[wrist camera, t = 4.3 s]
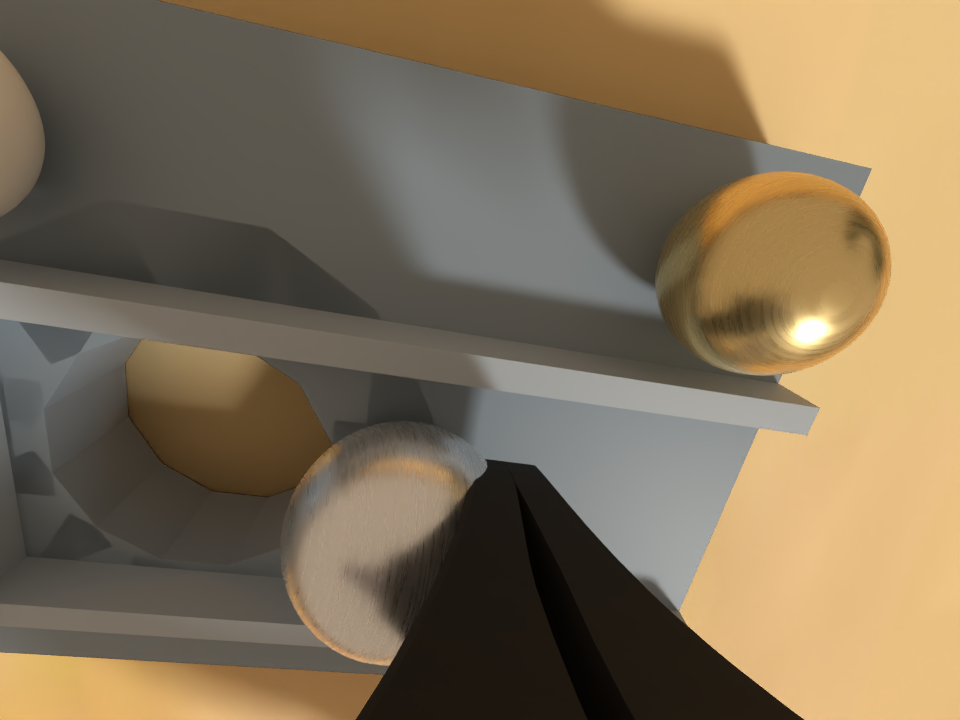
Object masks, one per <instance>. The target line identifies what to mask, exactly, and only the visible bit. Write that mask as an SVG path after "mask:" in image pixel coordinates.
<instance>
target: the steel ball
mask: <svg viewBox="0 0 960 720" xmlns="http://www.w3.org/2000/svg"><path fill="white" fill-rule="evenodd" d="M486 469H487V461H486V460H485V458H484V457H483V456H482V455H481V454H480V453H479V452H478V451H477V450H476V449H475V448H474V447H473V446H471V445H470V444H469V443H467V442H466V441H465V440H464V439H462V438H460V437H459V436H457V435H455V434H453V433H451V432H449V431H447V430H445V429H442V428H440V427H437V426H434V425H430V424H426V423H421V422H410V421H395V422H386V423H381V424H376V425H373V426H370V427H367V428H364V429H361V430H358V431H356V432H354V433H352V434H350V435H348V436H346V437H344V438H343V439H341V440H340V441H338V442H337V443H335V444H334V445H332V446H331V447H330V448H329V449H328V450H327V451H325V452H324V453H323V454H322V455H321V456H320V457H319V458H318V459H317V460H316V461H315V462H314V463H313V465H312V466H311V467H310V468H309V469H308V471H307V472H306V473H305V475H304V476H303V478H302V479H301V481H300V482H299V484H298V486H297V488H296V490H295V492H294V494H293V495H292V498H291V500H290V503H289V506H288V508H287V511H286V514H285V518H284V522H283V527H282V533H281V542H280V560H281V567H282V574H283V580H284V583H285V586H286V589H287V593H288V596H289V598H290V600H291V602H292V604H293V606H294V608H295V610H296V612H297V614H298V615H299V617H300V618H301V620H302V621H303V623H304V624H305V625H306V626H307V628H308V629H309V630H310V631H311V632H312V633H313V634H314V635H315V636H316V637H317V638H318V639H319V640H320V641H322V642H323V643H324V644H326V645H327V646H328V647H330V648H331V649H332V650H334V651H336V652H338V653H340V654H342V655H344V656H345V657H348V658H351V659H354V660H357V661H360V662H364V663H370V664H376V665H382V666H390V664H391V662H392V661H393V659H394V657H395V656H396V654H397V652H398V650H399V648H400V646H401V645H402V643H403V641H404V639H405V637H406V636H407V634H408V632H409V630H410V628H411V627H412V625H413V623H414V621H415V619H416V617H417V615H418V614H419V612H420V610H421V608H422V606H423V604H424V602H425V600H426V598H427V596H428V594H429V591H430V589H431V587H432V585H433V583H434V581H435V579H436V576H437V574H438V572H439V570H440V568H441V565H442V563H443V560H444V558H445V555H446V553H447V550H448V548H449V545H450V543H451V540H452V538H453V535H454V532H455V529H456V527H457V523H458V520H459V516H460V513H461V510H462V506H463V503H464V499H465V494H466V493H467V491H468V490H469V489H470V487H471V486H472V484H473V482H474V481H475V479H477V478H479V477H480V476H481V475H482V474H483V473H484V472H485V471H486Z"/></svg>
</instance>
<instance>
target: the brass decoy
mask: <svg viewBox="0 0 960 720" xmlns="http://www.w3.org/2000/svg"><path fill="white" fill-rule="evenodd" d="M890 276H891V254H890V246H889V242H888V238H887V236H886V233H885V231H884V228H883V226H882V224H881V223H880V221H879V219H878V218H877V216H876V214H875V213H874V211H873V210H872V209H871V208H870V207H869V206H868V205H867V204H866V203H865V202H864V201H863V200H862V199H861V198H860V197H859V196H857V195H856V194H855V193H854V192H852V191H851V190H849V189H847V188H846V187H844V186H842V185H840V184H838V183H836V182H834V181H832V180H829V179H826V178H823V177H820V176H816V175H813V174H808V173H801V172H790V171H775V172H768V173H762V174H755V175H751V176H747V177H744V178H740V179H738V180H735V181H732V182H730V183H728V184H725V185H723V186H721V187H719V188H717V189H716V190H714V191H712V192H710V193H709V194H707V195H706V196H705V197H703V198H702V199H701V200H699V201H698V202H697V203H695V204H694V205H693V206H692V207H691V208H690V209H689V210H688V211H687V212H686V213H684V215H683V216H682V217H681V218H680V219H679V221H678V222H677V223H676V225H675V226H674V228H673V229H672V231H671V232H670V234H669V235H668V237H667V239H666V241H665V243H664V245H663V248H662V251H661V253H660V256H659V260H658V264H657V269H656V277H655V290H656V297H657V302H658V305H659V309H660V312H661V315H662V317H663V319H664V322H665V324H666V325H667V327H668V328H669V330H670V331H671V333H672V334H673V336H674V337H675V338H676V339H677V341H678V342H679V343H680V344H681V345H682V346H683V347H685V348H686V349H687V350H688V351H689V352H691V353H692V354H693V355H694V356H696V357H697V358H699V359H701V360H703V361H704V362H706V363H708V364H710V365H712V366H715V367H717V368H720V369H723V370H726V371H730V372H734V373H738V374H746V375H757V376H768V375H780V374H787V373H792V372H796V371H799V370H803V369H806V368H809V367H812V366H814V365H817V364H819V363H822V362H824V361H826V360H827V359H829V358H831V357H833V356H834V355H836V354H837V353H839V352H840V351H842V350H844V349H845V348H846V347H848V346H849V345H850V344H851V343H853V342H854V341H855V340H856V339H857V338H858V337H859V336H860V335H861V334H862V333H863V332H864V331H865V330H866V328H867V327H868V326H869V325H870V324H871V322H872V321H873V319H874V318H875V316H876V315H877V313H878V311H879V309H880V307H881V306H882V303H883V301H884V299H885V296H886V293H887V290H888V287H889V282H890Z"/></svg>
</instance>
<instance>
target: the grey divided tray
mask: <svg viewBox="0 0 960 720" xmlns="http://www.w3.org/2000/svg"><path fill="white" fill-rule="evenodd" d="M0 50H1V52H2V53H3V54H4V55H5V56H6V57H7V59H8V60H9V61H10V62H11V63H12V65H13V66H14V67H15V68H16V70H17V71H18V73H19V74H20V76H21V77H22V79H23V80H24V82H25V84H26V86H27V87H28V89H29V91H30V93H31V95H32V97H33V99H34V101H35V103H36V106H37V108H38V110H39V113H40V117H41V120H42V123H43V129H44V135H45V154H44V161H43V165H42V169H41V173H40V175H39V177H38V180H37V182H36V184H35V185H34V187H33V188H32V190H31V191H30V193H29V194H28V195H27V196H26V197H25V198H24V199H23V200H22V201H21V202H20V203H19V204H18V206H16V207H15V208H14V209H12V210H11V211H9V212H8V213H6V214H5V215H3V216H2V217H0V652H5V653H22V654H39V655H56V656H73V657H90V658H107V659H124V660H141V661H158V662H176V663H193V664H210V665H227V666H244V667H261V668H278V669H295V670H312V671H329V672H346V673H363V674H380V675H384V674H385V673H386V671H387V669H388V668H389V666H382V665H376V664H370V663H364V662H360V661H357V660H354V659H351V658H348V657H345V656H344V655H342V654H340V653H338V652H336V651H334V650H332V649H331V648H330V647H328V646H327V645H326V644H324V643H323V642H322V641H320V640H319V639H318V638H317V637H316V636H315V635H314V634H313V633H312V632H311V631H310V630H309V629H308V628H307V626H306V625H305V624H304V623H303V621H302V620H301V618H300V617H299V615H298V614H297V612H296V610H295V608H294V606H293V604H292V602H291V600H290V598H289V596H288V593H287V589H286V586H285V583H284V580H283V574H282V567H281V560H280V542H281V533H282V527H283V522H284V518H285V514H286V511H287V508H288V506H289V503H290V500H291V498H292V495H293V494H294V492H295V490H296V488H297V487H296V488H293V489H290V490H287V491H285V492H282V493H279V494H276V495H273V496H270V497H261V496H251V495H242V494H232V493H223V492H213V491H211V490H209V489H207V488H205V487H203V486H202V485H200V484H198V483H196V482H195V481H193V480H191V479H189V478H187V477H186V476H184V475H182V474H180V473H178V472H177V471H175V470H173V469H171V468H170V467H168V466H166V465H164V464H162V463H161V462H160V460H159V459H158V457H157V456H156V455H155V453H154V452H153V450H152V449H151V448H150V446H149V445H148V443H147V442H146V440H145V439H144V438H143V436H142V435H141V433H140V432H139V431H138V429H137V428H136V426H135V425H134V424H133V422H132V421H131V419H130V418H129V414H128V399H127V385H126V370H125V363H126V361H127V360H128V358H129V357H130V355H131V354H132V352H133V351H134V349H135V348H136V347H137V345H138V344H139V342H140V341H141V339H144V340H151V341H158V342H165V343H172V344H179V345H186V346H193V347H200V348H207V349H214V350H220V351H227V352H234V353H241V354H248V355H255V356H258V357H259V358H261V359H262V360H264V361H265V362H267V363H268V364H270V365H271V366H273V367H274V368H276V369H277V370H279V371H280V372H282V373H283V374H285V375H286V376H288V377H289V378H291V379H292V380H294V381H295V382H297V383H298V384H300V386H301V388H302V390H303V392H304V394H305V396H306V397H307V399H308V401H309V403H310V405H311V407H312V408H313V410H314V412H315V414H316V416H317V418H318V420H319V421H320V423H321V425H322V427H323V429H324V431H325V432H326V434H327V436H328V438H329V440H330V442H331V444H332V445H334V444H335V443H337V442H338V441H340V440H341V439H343V438H344V437H346V436H348V435H350V434H352V433H354V432H356V431H358V430H361V429H364V428H367V427H370V426H373V425H376V424H381V423H386V422H395V421H410V422H421V423H426V424H430V425H434V426H437V427H440V428H442V429H445V430H447V431H449V432H451V433H453V434H455V435H457V436H459V437H460V438H462V439H464V440H465V441H466V442H467V443H469V444H470V445H471V446H473V447H474V448H475V449H476V450H477V451H478V452H479V453H480V454H481V455H482V456H483V457H484V458H485V459H490V460H498V461H506V462H514V463H522V464H530V465H535V466H536V467H537V468H538V469H539V470H540V471H541V472H542V473H543V475H544V476H545V477H546V478H547V479H548V480H549V482H550V483H551V484H552V485H553V486H554V488H555V489H556V490H557V491H558V492H559V493H560V495H561V496H562V497H563V498H564V499H565V501H566V502H567V503H568V504H569V505H570V506H571V508H572V509H573V510H574V511H575V512H576V514H577V515H578V516H579V517H580V518H581V519H582V520H583V522H584V523H585V524H586V525H587V526H588V527H589V528H590V530H591V531H592V532H593V533H594V534H595V535H596V536H597V537H598V538H599V540H600V541H601V542H602V543H603V544H604V545H605V546H606V547H607V548H608V549H609V550H610V551H611V553H612V554H613V555H614V556H615V557H616V558H617V559H618V560H619V561H620V562H621V563H622V564H623V565H624V566H625V567H626V568H627V569H628V570H629V571H630V572H631V573H632V574H633V575H634V576H635V577H636V578H637V579H638V580H639V581H640V582H641V583H642V584H643V585H644V586H645V587H646V588H647V589H648V590H649V591H650V592H651V593H652V594H653V595H654V596H655V597H656V598H657V599H658V600H659V601H660V602H661V603H662V604H663V605H665V606H666V607H667V608H668V609H669V610H670V611H671V612H672V613H673V614H675V615H676V616H677V617H678V618H679V619H680V620H681V621H682V622H684V623H685V621H684V619H683V618H682V616H681V614H680V612H679V610H680V607H681V605H682V603H683V601H684V598H685V596H686V594H687V591H688V589H689V587H690V585H691V582H692V580H693V578H694V575H695V573H696V571H697V568H698V566H699V564H700V562H701V559H702V557H703V555H704V552H705V550H706V548H707V546H708V543H709V541H710V539H711V536H712V534H713V532H714V529H715V527H716V525H717V523H718V520H719V518H720V516H721V513H722V511H723V509H724V507H725V504H726V502H727V500H728V497H729V495H730V493H731V490H732V488H733V486H734V484H735V481H736V479H737V477H738V474H739V472H740V470H741V468H742V465H743V463H744V461H745V458H746V456H747V454H748V451H749V449H750V447H751V445H752V442H753V440H754V438H755V435H756V433H757V431H758V429H759V428H761V429H768V430H775V431H782V432H789V433H796V434H802V435H807V434H808V432H809V430H810V428H811V425H812V423H813V421H814V419H815V417H816V415H817V413H818V411H819V409H820V408H819V407H817V406H816V405H814V404H812V403H810V402H809V401H807V400H805V399H804V398H802V397H800V396H799V395H797V394H795V393H793V392H792V391H790V390H788V389H787V388H785V387H783V386H781V385H780V384H778V383H779V380H780V378H781V376H782V374H780V375H768V376H757V375H746V374H738V373H734V372H730V371H726V370H723V369H720V368H717V367H715V366H712V365H710V364H708V363H706V362H704V361H703V360H701V359H699V358H697V357H696V356H694V355H693V354H692V353H691V352H689V351H688V350H687V349H686V348H685V347H683V346H682V345H681V344H680V343H679V342H678V341H677V339H676V338H675V337H674V336H673V334H672V333H671V331H670V330H669V328H668V327H667V325H666V324H665V322H664V319H663V317H662V315H661V312H660V309H659V305H658V302H657V297H656V290H655V277H656V269H657V264H658V260H659V256H660V253H661V251H662V248H663V245H664V243H665V241H666V239H667V237H668V235H669V234H670V232H671V231H672V229H673V228H674V226H675V225H676V223H677V222H678V221H679V219H680V218H681V217H682V216H683V215H684V213H686V212H687V211H688V210H689V209H690V208H691V207H692V206H693V205H694V204H695V203H697V202H698V201H699V200H701V199H702V198H703V197H705V196H706V195H707V194H709V193H710V192H712V191H714V190H716V189H717V188H719V187H721V186H723V185H725V184H728V183H730V182H732V181H735V180H738V179H740V178H744V177H747V176H751V175H755V174H762V173H768V172H775V171H790V172H801V173H808V174H813V175H816V176H820V177H823V178H826V179H829V180H832V181H834V182H836V183H838V184H840V185H842V186H844V187H846V188H847V189H849V190H851V191H852V192H854V193H855V194H856V195H857V196H859V197H860V195H861V192H862V190H863V188H864V185H865V183H866V181H867V178H868V176H869V174H870V172H871V168H867V167H862V166H858V165H854V164H850V163H846V162H841V161H837V160H833V159H829V158H824V157H820V156H816V155H812V154H807V153H803V152H799V151H795V150H790V149H786V148H782V147H778V146H773V145H769V144H765V143H761V142H756V141H752V140H748V139H744V138H739V137H735V136H731V135H727V134H722V133H718V132H714V131H710V130H706V129H701V128H697V127H693V126H689V125H684V124H680V123H676V122H672V121H667V120H663V119H659V118H655V117H650V116H646V115H642V114H638V113H633V112H629V111H625V110H621V109H616V108H612V107H608V106H604V105H599V104H595V103H591V102H587V101H583V100H578V99H574V98H570V97H566V96H561V95H557V94H553V93H549V92H544V91H540V90H536V89H532V88H527V87H523V86H519V85H515V84H510V83H506V82H502V81H498V80H493V79H489V78H485V77H481V76H476V75H472V74H468V73H464V72H460V71H455V70H451V69H447V68H443V67H438V66H434V65H430V64H426V63H421V62H417V61H413V60H409V59H404V58H400V57H396V56H392V55H387V54H383V53H379V52H375V51H370V50H366V49H362V48H358V47H353V46H349V45H345V44H341V43H336V42H332V41H328V40H324V39H320V38H315V37H311V36H307V35H303V34H298V33H294V32H290V31H286V30H281V29H277V28H273V27H269V26H264V25H260V24H256V23H252V22H247V21H243V20H239V19H235V18H230V17H226V16H222V15H218V14H213V13H209V12H205V11H201V10H197V9H192V8H188V7H184V6H180V5H175V4H171V3H167V2H163V1H158V0H0ZM685 624H686V623H685Z"/></svg>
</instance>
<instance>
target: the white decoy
mask: <svg viewBox="0 0 960 720" xmlns="http://www.w3.org/2000/svg"><path fill="white" fill-rule="evenodd" d="M44 154H45V135H44V129H43V123H42V120H41V117H40V113H39V110H38V108H37V106H36V103H35V101H34V99H33V97H32V95H31V93H30V91H29V89H28V87H27V86H26V84H25V82H24V80H23V79H22V77H21V76H20V74H19V73H18V71H17V70H16V68H15V67H14V66H13V65H12V63H11V62H10V61H9V60H8V59H7V57H6V56H5V55H4V54H3V53H2V52H1V50H0V217H2V216H3V215H5V214H6V213H8V212H9V211H11V210H12V209H14V208H15V207H16V206H18V204H19V203H20V202H21V201H22V200H23V199H24V198H25V197H26V196H27V195H28V194H29V193H30V191H31V190H32V188H33V187H34V185H35V184H36V182H37V180H38V177H39V175H40V173H41V169H42V165H43V161H44Z"/></svg>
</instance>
